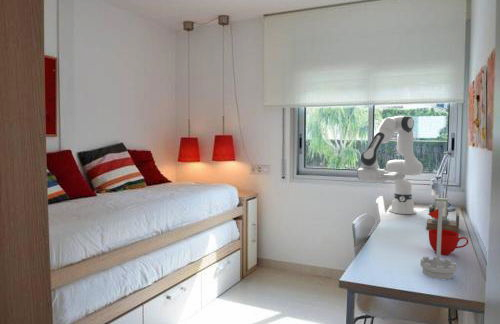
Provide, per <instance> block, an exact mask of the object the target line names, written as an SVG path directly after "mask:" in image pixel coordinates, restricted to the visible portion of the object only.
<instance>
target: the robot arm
mask: <svg viewBox="0 0 500 324" xmlns="http://www.w3.org/2000/svg"><path fill="white" fill-rule="evenodd" d="M414 127H415V120H414V118H413V117H412V116H409V115H396V116H391V117H389V116H388V117H385V118H384V119H383V120H382V121H381V122H380V125H379V126H378V128H377V130H376V132H375V134H374V136H373V137H372V140H371V141H370V143H369V145H368V146H367V148H366V149H365V150H363V152H362V153H361V155H360V161H361V162H362V164H361V166H360V167H359V168H357V169H356V176H357V179H358V180H359V181H362V182H368V183H371V182H375V183H385V181H392V182H393V181H394V187H395V188H394V191H395V192H394V195H393V197H394V198H393V200H391V209H388V211H389V212H391V213H394V214H399V215H416V214H417V211H416V210H415V207H414V206H415V205H414V202H415V201H413V200H412V197H413V196H412V195H413V194H412V183H411V181H410V180H407V179H406V178H405V176H420V175H421V174H422V173H423V170H424V166H423V164H422V162H421V161H420V160H418V159H417V157H416V156H415V153H414V132H413V129H414ZM395 132H397V136H396V137H397V138H396V152H397V154H399V155H400V156H402V157H403V159H392V160H388V161H387V162H386V164H385V168H383V169H382V168H378V167H379V161H378V158H377V154H378V153H377V152H378V150H379V149H380V147H381V145H382V144H383V145H384V144H388V143H389V142H390V141H391V140H392V137H393V136H394V133H395Z"/></svg>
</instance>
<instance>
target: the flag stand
mask: <svg viewBox="0 0 500 324" xmlns="http://www.w3.org/2000/svg"><path fill="white" fill-rule="evenodd" d="M444 206H445V205H444V203H443V202H438V203H437V208H438V209H437V210H435V211H433V212H431V213H429V212H428V213H427V215H429V217H431V216H432V217H434V218H436V219H438V228H437V253H436V252H435V253H436V256H433V257H432V259H431V258H430V257H429V256H423V257H422V258H420V263H419V265H420V267H421V268H422V273H424V274H425V276H426V275H427V277H428V276H429V277H428V278H431V277H432V279H435V278H437V279H436V280H442V279H447V280H451V278H452V279H453V277H454V274H455V272H456V271H457V263H456V262H453V261H452V259H449V258H444V260H442V259H441V255H442V254H441V233H442V209H443V208H444ZM432 217H431V218H432ZM424 274H423V275H424Z"/></svg>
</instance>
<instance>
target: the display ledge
mask: <svg viewBox="0 0 500 324" xmlns="http://www.w3.org/2000/svg"><path fill="white" fill-rule="evenodd" d="M459 225H460V214H459V211H456V212H455V220H449V224H442V230H449V231H454V232H457V233H458V234H460V233H459V232H460V231H459V230H460V229H459V228H460V226H459ZM437 228H438V223H432V218H427V219H426V230H427V231H429V230H433V229H437Z"/></svg>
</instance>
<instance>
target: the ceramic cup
mask: <svg viewBox="0 0 500 324" xmlns="http://www.w3.org/2000/svg"><path fill="white" fill-rule="evenodd" d="M428 239H429V240H428V241H429V242H428V243H429V244H430V247H431V248H432V250H433V251H434V252H435V253H437V229H433V230H428ZM462 239H463V240H466V243H464V244H462V245H459V246H458V244H459V242H460V240H462ZM468 245H469V238H467V237H465V236H461V237H460V233H457V232H454V231H449V230H442V233H441V255H444V256H449V255H451V254H452V253H453V252H454V251H455V250H456V249H462V248H465V247H466V246H468Z"/></svg>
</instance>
